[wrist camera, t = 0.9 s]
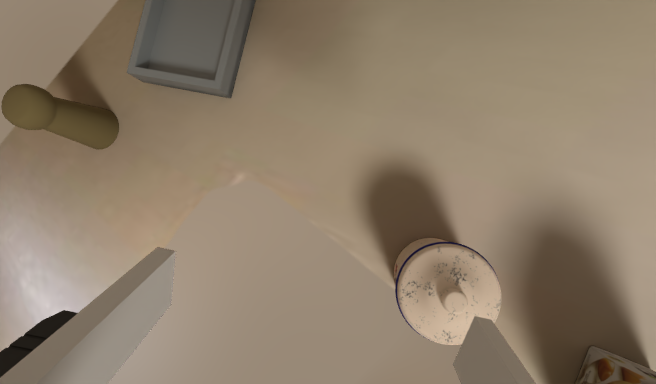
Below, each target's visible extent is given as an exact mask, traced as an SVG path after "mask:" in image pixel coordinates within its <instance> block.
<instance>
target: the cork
mask: <svg viewBox="0 0 656 384" xmlns="http://www.w3.org/2000/svg"><path fill="white" fill-rule="evenodd" d="M2 113H3V115H4V116H5V118H6V119H7V120H8V121H10V122H11V123H12V124H13V125H15V126H17V127H20V128H23V129H27V130H41V129H44V130H47V131H50V132H52V133H55V134H58V135H60V136H63V137H65V138H68V139H71V140H73V141H76V142H79V143H81V144H84V145H86V146H89V147H92V148H95V149H104V148H107V147H109V146H110V145H111V144H112V143H113V142H114V141H115V139H116V138H117V135H118V132H119V123H118V119H117V118H116V116H115V114H114V113H112V112H111V111H109V110H106V109H102V108H98V107H94V106H90V105H85V104H81V103H77V102H73V101H68V100H64V99H60V98H56V97H53V96H52V95H51V94H50V93H49V92H47V91H46V90H44V89H42V88H40V87H37V86H34V85H29V84H21V85H15V86H13V87H11V88H10V89H9V90H8V91H7V92H6V94H5V95H4V97H3V100H2Z"/></svg>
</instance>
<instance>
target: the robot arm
mask: <svg viewBox="0 0 656 384" xmlns="http://www.w3.org/2000/svg"><path fill="white" fill-rule="evenodd" d="M175 255H176V251H174V250H169V249H164V248H160V247H157V248H156V249H155V250H154V251H152V252H151V253H150V254H149V255H148V256H146V257H145V258H144V259H143V260H141V261H140V262H139V263H138V264H137V265H135V266H134V267H133V268H132V269H131V270H129V271H128V272H127V273H126V274H125V275H123V276H122V277H121V278H120V279H119V280H117V281H116V282H115V283H114V284H113V285H111V286H110V287H109V288H108V289H107V290H105V291H104V292H103V293H102V294H101V295H99V296H98V297H97V298H96V299H94V300H93V301H92V302H91V303H90V304H88V305H87V306H86V307H85V308H84V309H82V310H81V311H80V312H79V313H75V312H70V311H65V310H64V311H61V312H59V313H57V314H55V315H53V316H51V317H49V318H46V319H44V320H42V321H41V322H40V323H38V324H37V325H36V326H34V327H33V328H32V329H30V330H29V331H28V332H26V333H25V335H24V336H23V337H22V336H21V337H20V338H18V339H17V340H16V341H14V342H13V343H12V344H10V346H9V347H8V348H5V349H4V350H2V351H1V352H0V384H108V383H109V381H110V380H111V379H112V378H113V376H114V375H115V374H116V373H117V371H118V370H119V369H120V368H121V366H122V365H123V364H124V363H125V362H126V360H127V359H128V358H129V357H130V355H131V354H132V353H133V352H134V350H135V349H136V348H137V347H138V345H139V344H140V343H141V342H142V340H143V339H144V338H145V337H146V335H147V334H148V333H149V332H150V330H151V329H152V328H153V327H154V325H155V324H156V323H157V322H158V320H159V319H160V318H161V317H162V316H163V314H164V313H165V312H166V310H167V309H168V308H169V307H170V305H171V298H172V287H173V277H174V266H175ZM453 366H454V368H455V370H456V373H457V375H458V377H459V380H460V382H461V384H536V383H535V382H534V380H533V379H532V377H531V376H530V374H529V373H528V372H527V370H526V369H525V367H524V366H523V364H522V363H521V361H520V360H519V359H518V357H517V356H516V354H515V353H514V351H513V350H512V349H511V347H510V346H509V344H508V343H507V341H506V340H505V338H504V337H503V336H502V334H501V333H500V331H499V330H498V328H497V327H496V326H495V324H494V323H493V321H492V320H491V319H486V318H481V317H477V316H474V319H473V321H472V323H471V325H470V328H469V330H468V332H467V334H466V336H465V339H464V341H463V343H462V345H461V347H460V350H459V352H458V354H457V356H456V358H455V361H454V363H453Z"/></svg>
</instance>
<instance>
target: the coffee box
mask: <svg viewBox="0 0 656 384" xmlns="http://www.w3.org/2000/svg"><path fill="white" fill-rule="evenodd" d="M575 384H656V372H655V371H653V370H651V369H649V368H647V367H644V366H642V365H640V364H637V363H635V362H632V361H630V360H628V359H625V358H623V357H620V356H618V355H615V354H613V353H610V352H608V351H605V350H602V349H600V348H597V347H594V346H591V347H590V348H589V350H588V353H587V355H586V358H585V360H584V363H583V365H582V368H581V370H580V373H579V375H578V378H577V380H576V382H575Z"/></svg>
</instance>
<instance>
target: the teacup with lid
mask: <svg viewBox="0 0 656 384" xmlns="http://www.w3.org/2000/svg"><path fill="white" fill-rule="evenodd" d="M394 280H395V285H396V290H395V291H396V299H397V303H398V306H399V309H400V312H401V314H402V316H403V317H404V319H405V320H406V322H407V323H408V324H409V325H410V326H411V328H413V329H414V330H415V331H416V332H417V333H418V334H420V335H422V336H423V337H425V338H427V339H429V340H431V341H433V342H437V343H441V344H446V345H460V344H462V343H463V341H464V339H465V336H466V334H467V332H468V330H469V328H470V325H471V323H472V321H473V319H474V316H477V317H481V318H486V319H491V320H492V321H493V323H495V321H496V319H497V317H498V314H499V311H500V307H501V288H500V283H499V280H498V278H497V275H496V273H495V271H494V269H493V268H492V266H491V265H490V264H489V263H488V261H487V260H486V259H485V258H484V257H483V256H481V255H480V254H479V253H478V252H476V251H475V250H473V249H471V248H469V247H467V246H465V245H462V244H458V243H453V242H447V241H445V240H442V239H438V238H423V239H419V240H416V241H414V242H412V243H410V244H409V245H408V246H406V247H405V248H404V249H403V250H402V251H401V253H400V254H399V256H398V258H397V260H396V263H395V267H394Z"/></svg>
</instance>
